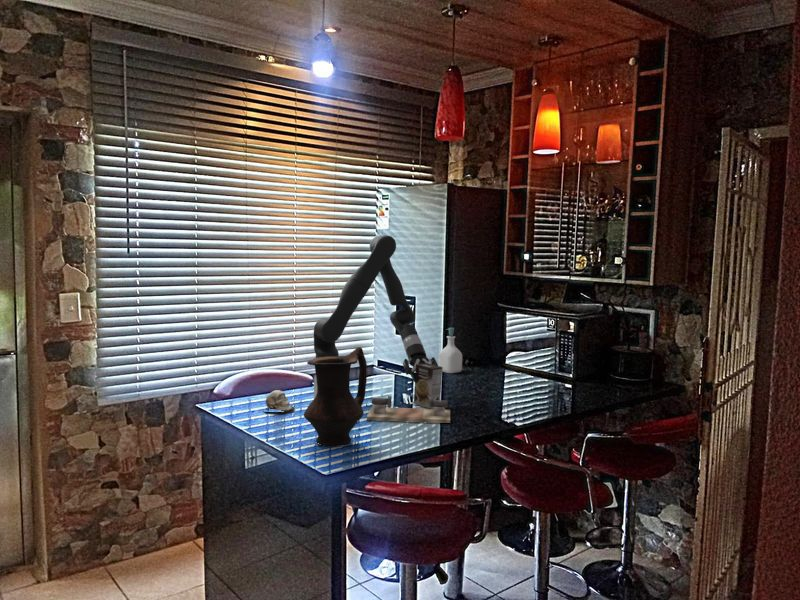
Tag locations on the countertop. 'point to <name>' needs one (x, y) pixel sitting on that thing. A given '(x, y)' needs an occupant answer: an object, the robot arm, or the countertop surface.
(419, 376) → the coffee box
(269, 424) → the countertop surface
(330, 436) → the jug
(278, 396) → the skull
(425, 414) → the shaft board
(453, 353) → the soap bottle
